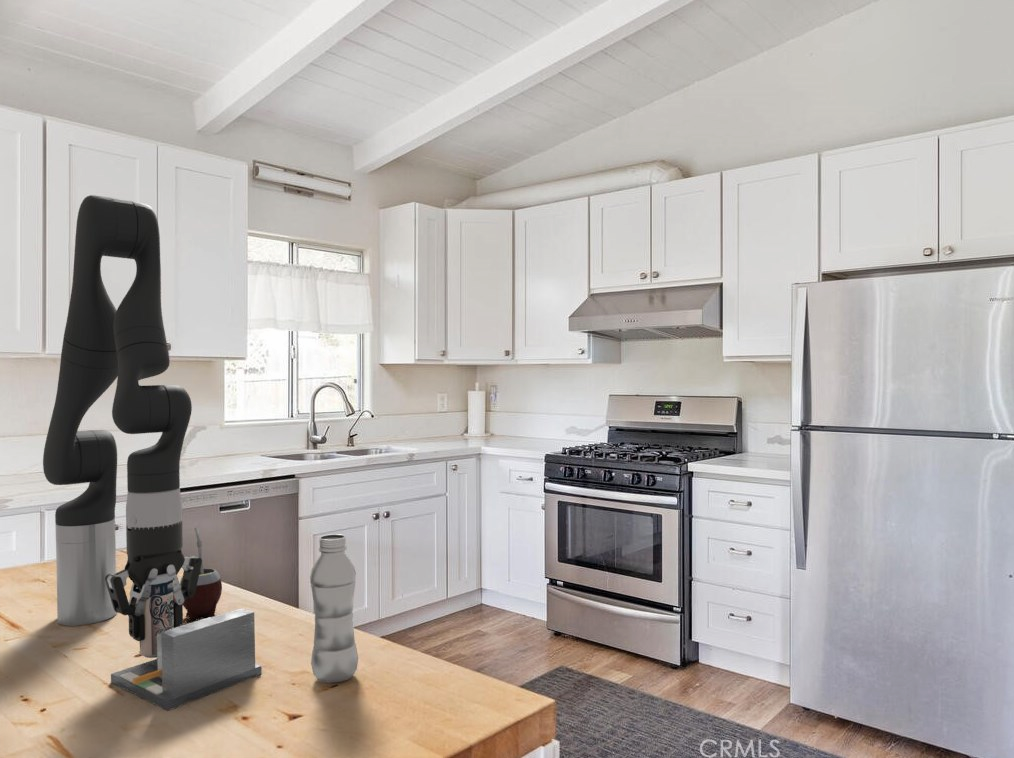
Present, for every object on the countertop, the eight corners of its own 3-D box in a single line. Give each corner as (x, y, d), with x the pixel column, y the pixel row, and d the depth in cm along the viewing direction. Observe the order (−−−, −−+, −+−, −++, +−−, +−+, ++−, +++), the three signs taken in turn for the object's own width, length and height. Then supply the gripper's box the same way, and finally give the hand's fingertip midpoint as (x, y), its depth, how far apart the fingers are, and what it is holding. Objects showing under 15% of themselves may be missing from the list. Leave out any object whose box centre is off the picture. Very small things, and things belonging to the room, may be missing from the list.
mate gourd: (202, 625, 128) (200, 538, 128) (166, 620, 131) (164, 535, 130) (232, 612, 135) (231, 529, 135) (197, 607, 138) (196, 526, 137)
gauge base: (111, 682, 105) (109, 617, 105) (203, 651, 116) (202, 592, 116) (167, 710, 96) (165, 639, 96) (261, 674, 107) (260, 610, 107)
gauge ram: (130, 684, 100) (129, 640, 100) (209, 657, 109) (208, 616, 109) (136, 687, 99) (135, 642, 99) (215, 659, 109) (214, 618, 108)
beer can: (160, 660, 108) (159, 578, 108) (131, 658, 109) (130, 576, 109) (181, 648, 113) (180, 569, 112) (153, 646, 114) (152, 567, 113)
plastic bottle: (317, 692, 100) (315, 544, 100) (306, 674, 106) (304, 535, 106) (364, 683, 103) (362, 539, 103) (351, 666, 109) (348, 530, 109)
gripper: (186, 509, 118) (188, 616, 119) (92, 525, 107) (94, 643, 107) (213, 514, 114) (214, 625, 114) (117, 532, 102) (120, 655, 103)
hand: (156, 633), depth 111 cm, fingers closed on beer can, 4 cm apart
